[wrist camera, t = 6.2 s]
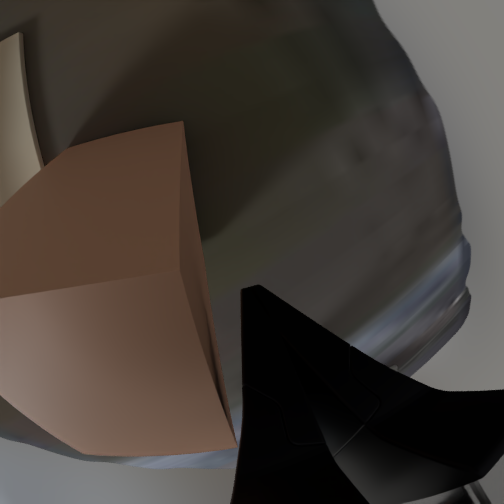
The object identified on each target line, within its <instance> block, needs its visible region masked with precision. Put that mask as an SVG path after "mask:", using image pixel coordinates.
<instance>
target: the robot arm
mask: <svg viewBox="0 0 504 504" xmlns="http://www.w3.org/2000/svg"><path fill="white" fill-rule="evenodd" d="M240 293H241V347H242V385H243V387H242V394H243V410H242V427H241V437H240V444H239V452H238V459H237V466H236V474H235V480H234V487H233V493H232V498H231V502H230V504H504V389H503V390H488V391H443V390H438V389H435V388H432V387H429V386H427V385H425V384H423V383H420V382H418V381H416V380H414V379H412V378H410V377H408V376H406V375H403V374H401V373H399V372H397V371H395V370H393V369H391V368H389V367H387V366H385V365H383V364H382V363H380V362H378V361H376V360H374V359H373V358H371V357H369V356H368V355H366V354H364V353H363V352H361V351H360V350H358V349H356V348H355V347H353V346H351V347H350V344H349V343H347V342H345V341H344V340H342V339H341V338H339V337H338V336H336V335H335V334H333V333H332V332H330V331H329V330H327V329H326V328H324V327H322V326H321V325H319V324H318V323H316V322H315V321H313V320H312V319H310V318H309V317H307V316H306V315H304V314H303V313H301V312H300V311H298V310H297V309H295V308H294V307H292V306H291V305H289V304H288V303H286V302H285V301H283V300H282V299H280V298H279V297H277V296H276V295H274V294H273V293H272V292H270V291H269V290H267V289H266V288H264V287H263V286H261V285H254V286H250V287H247V288H243V289H241V292H240Z"/></svg>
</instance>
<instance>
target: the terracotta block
mask: <svg viewBox="0 0 504 504" xmlns="http://www.w3.org/2000/svg"><path fill="white" fill-rule="evenodd" d="M0 395H1V396H2V397H3V398H4V399H5V400H7V401H8V402H9V403H10V404H11V405H13V406H14V407H15V408H16V409H18V410H19V411H20V412H21V413H23V414H24V415H25V416H26V417H28V418H29V419H30V420H32V421H33V422H35V423H36V424H37V425H39V426H40V427H42V428H43V429H44V430H46V431H47V432H49V433H50V434H52V435H53V436H55V437H56V438H58V439H59V440H61V441H63V442H64V443H66V444H67V445H69V446H71V447H72V448H74V449H76V450H78V451H79V452H81V453H83V454H89V455H104V456H165V455H180V454H191V453H201V452H209V451H217V450H224V449H230V448H236V447H237V442H236V438H235V433H234V429H233V424H232V419H231V414H230V410H229V405H228V400H227V395H226V390H225V384H224V379H223V374H222V368H221V363H220V357H219V352H218V346H217V340H216V334H215V328H214V322H213V316H212V310H211V303H210V297H209V290H208V283H207V276H206V269H205V261H204V255H203V250H202V244H201V238H200V232H199V227H198V221H197V215H196V208H195V202H194V196H193V189H192V182H191V176H190V169H189V162H188V154H187V147H186V139H185V131H184V123H183V121H179V122H173V123H168V124H162V125H157V126H152V127H147V128H142V129H137V130H133V131H128V132H124V133H120V134H116V135H112V136H108V137H104V138H100V139H96V140H93V141H89V142H86V143H82V144H79V145H76V146H73V147H70V148H67V149H66V150H64V151H63V152H62V153H61V154H59V155H58V156H57V157H56V158H54V159H53V160H52V161H51V162H49V163H48V164H47V165H46V166H45V167H43V168H42V169H41V170H40V171H39V172H38V173H36V174H35V175H34V176H33V177H32V178H31V179H30V180H29V181H27V182H26V183H25V184H24V185H23V186H22V187H21V188H20V189H19V190H18V191H17V192H16V193H15V194H14V195H13V196H12V197H11V198H10V199H9V200H8V201H7V202H6V203H5V204H4V205H3V206H2V207H1V208H0Z"/></svg>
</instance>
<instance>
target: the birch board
mask: <svg viewBox="0 0 504 504" xmlns="http://www.w3.org/2000/svg"><path fill="white" fill-rule="evenodd" d="M43 167H45V166H44V163H43V159H42V155H41V152H40V148H39V144H38V139H37V135H36V131H35V126H34V121H33V116H32V111H31V105H30V99H29V93H28V86H27V78H26V69H25V58H24V43H23V33H20V32H18V33H16V34H14V35H12V36H10V37H8V38H7V39H5V40H3V41H1V42H0V208H1V207H2V206H3V205H4V204H5V203H6V202H7V201H8V200H9V199H10V198H11V197H12V196H13V195H14V194H15V193H16V192H17V191H18V190H19V189H20V188H21V187H22V186H23V185H24V184H25V183H26V182H27V181H29V180H30V179H31V178H32V177H33V176H34V175H35V174H36V173H38V172H39V171H40V170H41V169H42V168H43Z"/></svg>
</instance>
